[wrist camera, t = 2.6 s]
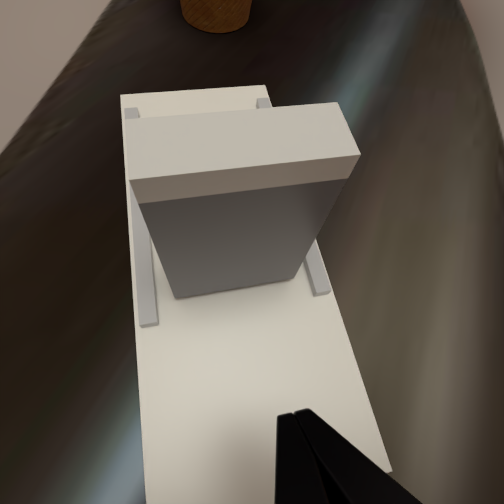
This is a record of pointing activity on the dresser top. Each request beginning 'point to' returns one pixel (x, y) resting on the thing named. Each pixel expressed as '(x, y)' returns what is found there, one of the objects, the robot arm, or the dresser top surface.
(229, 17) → the disposable coffee cup
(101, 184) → the dresser top surface
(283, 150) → the fader tab
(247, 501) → the white slider track base
